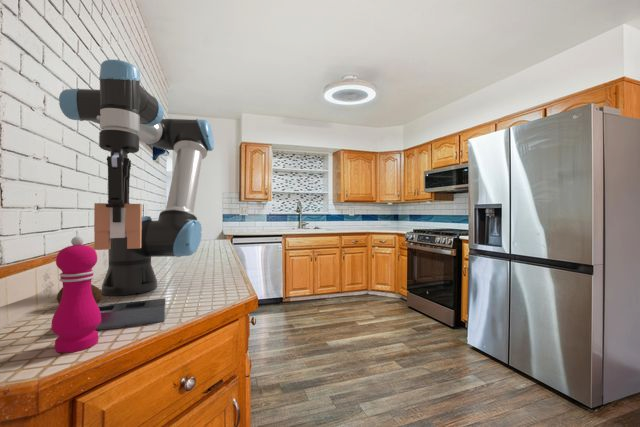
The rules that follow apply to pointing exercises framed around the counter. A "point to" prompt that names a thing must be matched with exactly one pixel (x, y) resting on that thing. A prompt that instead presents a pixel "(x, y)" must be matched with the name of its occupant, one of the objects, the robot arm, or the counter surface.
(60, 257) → the pepper mill
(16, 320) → the counter surface
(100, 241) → the peach wedge-cut bar
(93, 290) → the potato
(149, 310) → the rail
